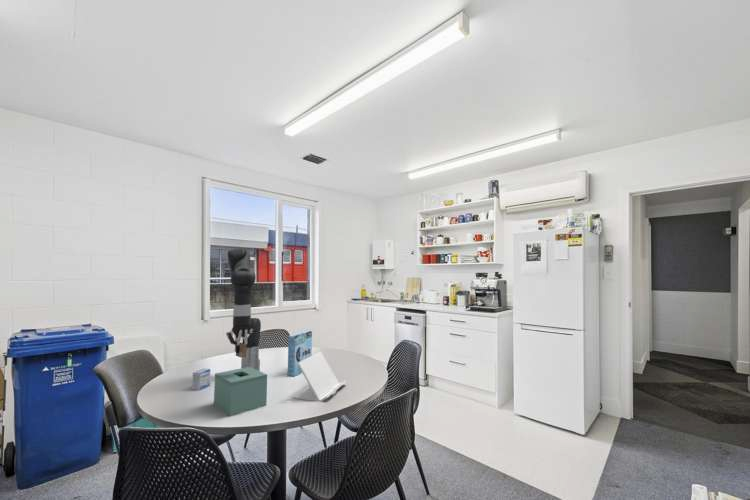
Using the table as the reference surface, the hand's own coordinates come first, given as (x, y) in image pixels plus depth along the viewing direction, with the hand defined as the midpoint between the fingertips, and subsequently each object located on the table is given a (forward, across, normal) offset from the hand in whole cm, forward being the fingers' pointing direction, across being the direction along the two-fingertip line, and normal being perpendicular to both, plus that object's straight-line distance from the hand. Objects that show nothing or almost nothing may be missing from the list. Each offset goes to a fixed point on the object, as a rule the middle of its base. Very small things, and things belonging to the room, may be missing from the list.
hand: (240, 352), depth 151 cm
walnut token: (+1, 0, 0) cm, 1 cm away
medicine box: (+23, +4, -37) cm, 44 cm away
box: (+23, 0, 0) cm, 23 cm away
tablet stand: (+24, -37, +12) cm, 45 cm away
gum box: (+23, -48, -25) cm, 59 cm away
